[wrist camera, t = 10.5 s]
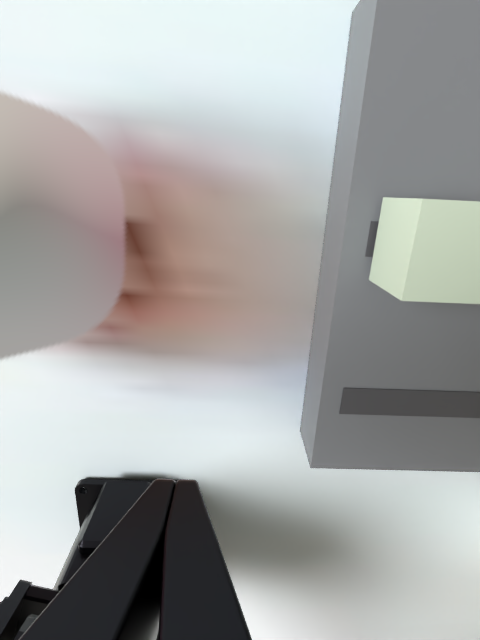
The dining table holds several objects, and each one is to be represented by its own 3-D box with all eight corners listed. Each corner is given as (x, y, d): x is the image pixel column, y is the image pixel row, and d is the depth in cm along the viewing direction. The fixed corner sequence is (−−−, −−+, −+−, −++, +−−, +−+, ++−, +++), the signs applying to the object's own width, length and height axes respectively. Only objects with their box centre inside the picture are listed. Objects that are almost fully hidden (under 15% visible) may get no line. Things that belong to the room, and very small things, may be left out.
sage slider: (454, 283, 15) (507, 305, 12) (368, 279, 15) (401, 300, 12) (475, 202, 14) (539, 204, 11) (383, 197, 14) (422, 198, 11)
